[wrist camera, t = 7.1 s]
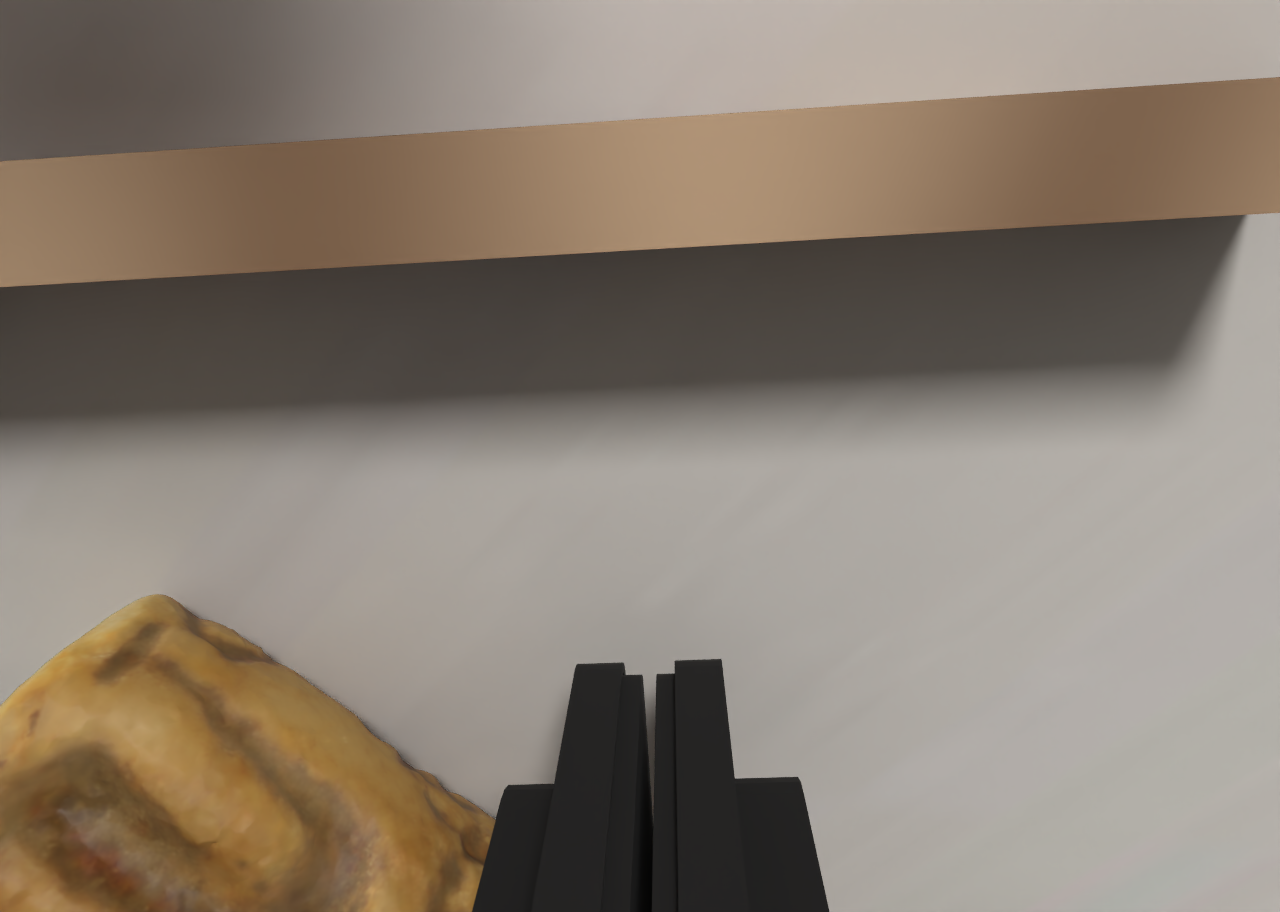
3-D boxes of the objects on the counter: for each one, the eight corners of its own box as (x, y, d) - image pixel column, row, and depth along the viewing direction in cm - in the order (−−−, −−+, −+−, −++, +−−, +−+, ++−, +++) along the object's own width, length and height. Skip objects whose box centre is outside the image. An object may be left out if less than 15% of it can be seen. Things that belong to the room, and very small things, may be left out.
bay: (1355, -364, 7) (2777, -1453, 2) (1100, 1082, 13) (1354, 1621, 8) (-632, -189, 8) (-2585, -717, 3) (-30, 1096, 14) (-397, 1589, 9)
